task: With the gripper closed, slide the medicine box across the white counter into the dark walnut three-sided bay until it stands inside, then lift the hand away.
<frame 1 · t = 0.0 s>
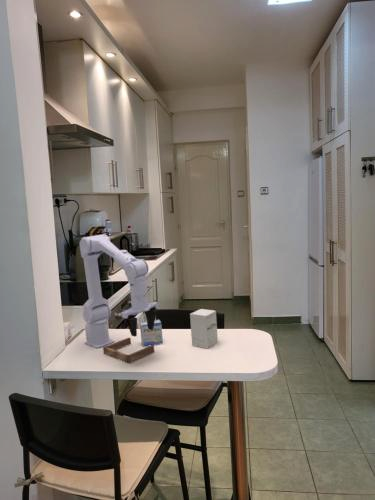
hand: (142, 332, 144), 10 cm above the breakfast bar, tool pointing down, fingers open, 7 cm apart
walnut bay: (127, 353, 153), on the breakfast bar
medicine box: (152, 343, 161), on the breakfast bar
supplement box: (205, 344, 156), on the breakfast bar
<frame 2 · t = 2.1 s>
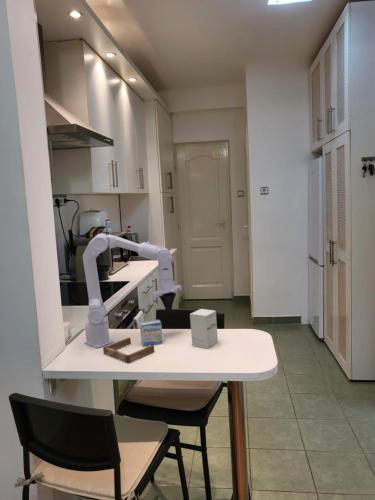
hand: (168, 311, 166), 10 cm above the breakfast bar, tool pointing down, fingers closed
nothing on the breakfast bar moved.
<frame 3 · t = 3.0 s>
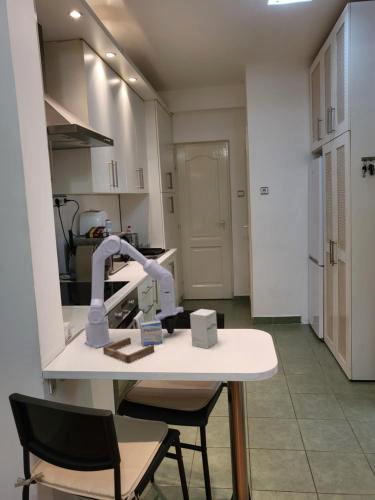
hand: (170, 333, 168), 1 cm above the breakfast bar, tool pointing down, fingers closed
nothing on the breakfast bar moved.
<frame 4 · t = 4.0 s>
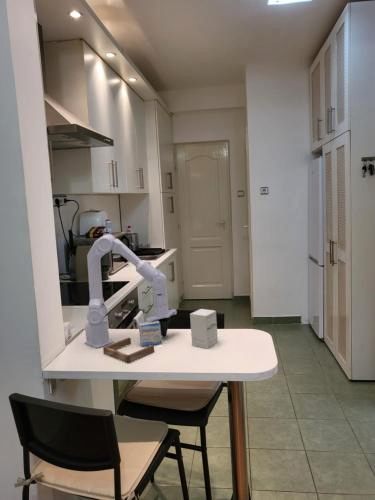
hand: (163, 336, 165), 1 cm above the breakfast bar, tool pointing down, fingers closed
medicine box: (151, 344, 160), on the breakfast bar, touching gripper
everything else where it was.
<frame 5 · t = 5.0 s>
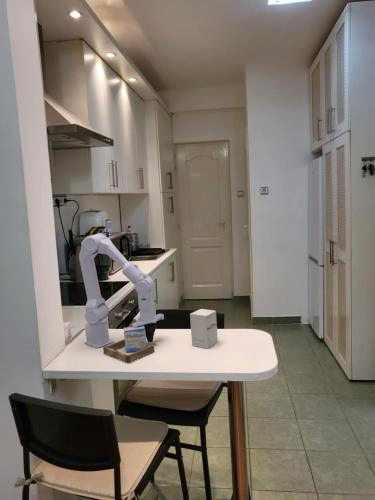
hand: (150, 341, 160), 1 cm above the breakfast bar, tool pointing down, fingers closed
medicine box: (136, 350, 156), on the breakfast bar, touching gripper
everything else where it was.
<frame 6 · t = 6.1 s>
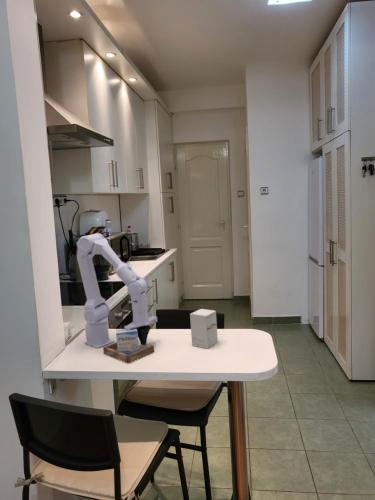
hand: (143, 344, 158), 1 cm above the breakfast bar, tool pointing down, fingers closed
medicine box: (128, 352, 153), on the breakfast bar, touching gripper
everything else where it was.
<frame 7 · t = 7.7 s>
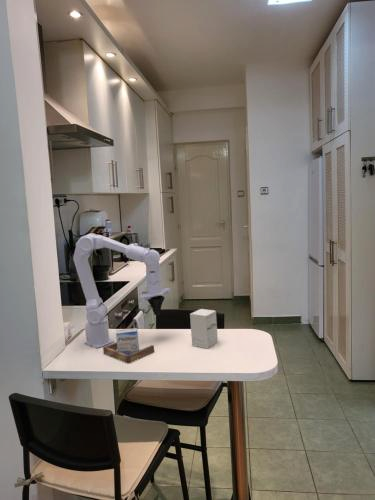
hand: (157, 314, 163), 10 cm above the breakfast bar, tool pointing down, fingers closed
medicine box: (128, 353, 153), on the breakfast bar
everything else where it was.
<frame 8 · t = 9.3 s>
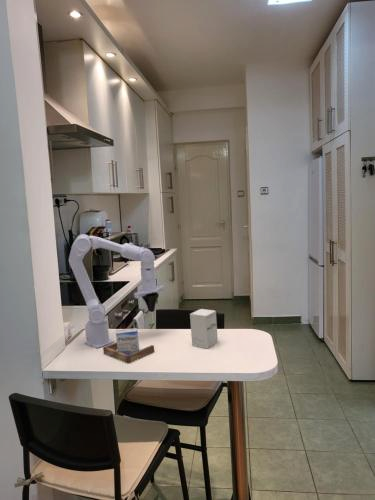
hand: (151, 311, 168), 10 cm above the breakfast bar, tool pointing down, fingers closed
nothing on the breakfast bar moved.
at the end: medicine box inside the target area on the walnut bay (0.5 cm from its centre), point 0.0 cm above the walnut bay's base; medicine box tilted 0°; medicine box moved 11.2 cm from its start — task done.
